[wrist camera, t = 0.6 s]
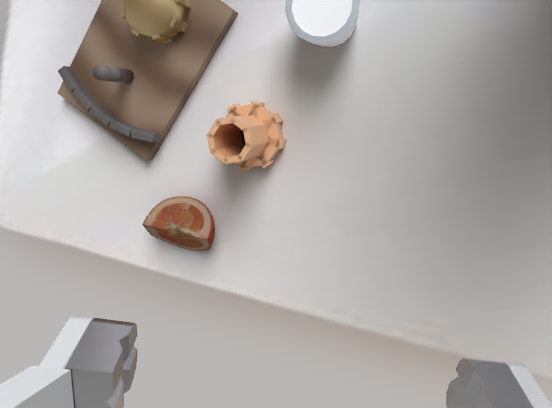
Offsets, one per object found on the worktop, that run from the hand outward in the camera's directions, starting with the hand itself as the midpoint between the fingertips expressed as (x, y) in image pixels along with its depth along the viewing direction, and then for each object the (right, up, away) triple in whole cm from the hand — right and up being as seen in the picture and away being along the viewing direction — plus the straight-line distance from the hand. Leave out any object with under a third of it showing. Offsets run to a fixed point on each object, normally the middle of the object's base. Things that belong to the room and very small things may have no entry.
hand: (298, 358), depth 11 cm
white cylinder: (+5, +24, +36) cm, 43 cm away
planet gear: (-3, +12, +40) cm, 42 cm away
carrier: (-16, +21, +41) cm, 49 cm away
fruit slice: (-11, +2, +45) cm, 46 cm away
